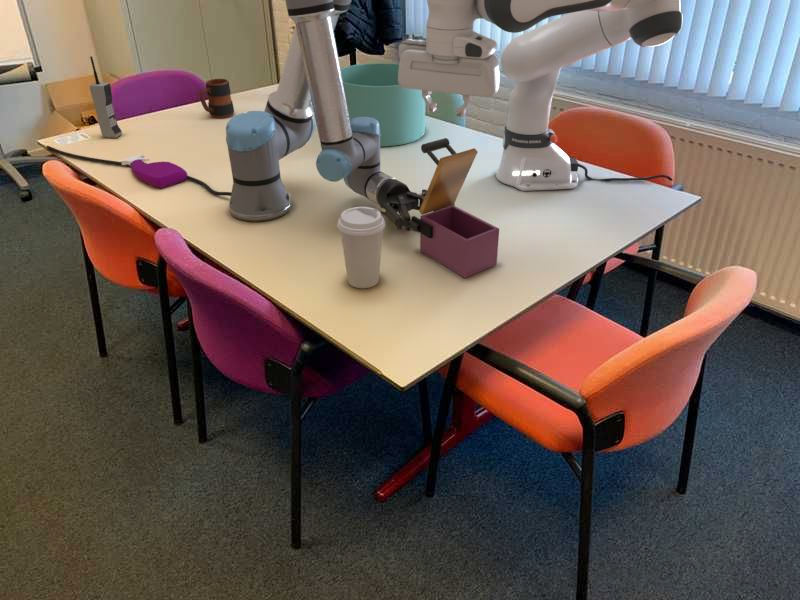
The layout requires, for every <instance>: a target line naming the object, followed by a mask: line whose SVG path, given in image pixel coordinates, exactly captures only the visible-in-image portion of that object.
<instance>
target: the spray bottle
mask: <svg viewBox="0 0 800 600" xmlns="http://www.w3.org/2000/svg"><path fill="white" fill-rule="evenodd" d="M145 161H149V163H147V162H145ZM120 162H121V163H122V165H127V164H128V165H130V169H131V172H132V173H133V175H134V176H135V177H136V178H137V179H139V180H141V181H142V182H143V183H145V184H148V185H150V186H153V187H156V188H160V189H163V188H166V187H169V186H173V185H176V184H178V183H182V182H184V181H186V180H187V179H186V178H187V176H188V172H187V171H186V170H185V169H184V168H183V167H181V166H180V165H177V164H175V163H174V162H170V161H154V162H150V158H146V157H145V154H144V153H142V154H136V155H133V156H129V157H127V158H124V159H121V160H120ZM122 165H121V166H122Z"/></svg>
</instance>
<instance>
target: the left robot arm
mask: <svg viewBox="0 0 800 600" xmlns="http://www.w3.org/2000/svg"><path fill="white" fill-rule="evenodd" d="M284 2H285V6H286V11H287V15H288V18H289V19H290V20H292V21H293V22H294V24H295V26H294V30H293V34H292V37H291V41H290V44H289V47H288V51H287V55H286V59H285V61H284V64H283V68H282V72H281V75H280V79H279V82H278V85H277V89H276V90H275V91H272V92H270V93H269V94H268V98H267V101H266V105H265V108H264V111H263V110H250V111H247V112H241V113H238V114H237V115H234V116H233V117H231V118H230V119H229V120H228V122H227V123H226V126H225V135H226V136H225V141H226V145H227V151H228V157H229V165H230V169H231V170H230V171H231V176H232V187H231V191H216V190H214V189H212V188H211V186H209V185H208V183H206V182H205V181H202V180H200V179H198V178H195V177H192V176H189V175H187V178H186V180H189V181H190V182H191V181H192V182H194V183H197V184H199V185H201V186H202V187H204V189H206V190H207V191H208V192H209V193H211V194H213V195H215V196H229V197H230V200H229V212H230V215H231V216H232V217H233V218H235V219H238V220H241V221H245V222H252V223H253V222H267V221H273V220H276V219H278V218H281V217H283V216H285V215H286V214H288V213H289V212H290V211H291V208H292V203H291V194H288V192H287V190H286V187H285V184H284V183H283V180H282V177H281V168H280V160H282V159H283V158H286V156H288V155H290V154H293V152H295V151H297V150H300V149H302V148H303V147H304V146H305V145H306V144H307V143H308V142H309V141H310V140H311V139H312V137H313V135H314V132H315V128H317V133H318V139H319V142H320V149H321V151H320V152H319V154H318V155H317V157H316V159H315V160H316V161H315V166H316V169H317V172H318V174H319V175H320V176H321V177H322V178H323V179H325V180H326V181H328V182H333V183H335V182H339V181H341V180H343V182H344V184H345V185H346V186H347V188H349V189H351V191H353V192H354V193H356V194H358V195H360V196H362V197H364V198H366V199H367V200H369V201H371V202H372V203H374V204H376V205H377V206H379V212H380V213H381V216H384V217H386V218H387V219H388V221H390V222H391V223H392V225H393V226H394V227H395V228H396V229H397V230H402V229H403V227H404V231H405V232H410V231H411V230H413V231H414V232H418V233H419V234H420V233H421V234H423V235H425V236H426V237H428V238H433V226H431V225H429V224H428V223H426V222H424V221H422V220H421V219H420V218H419V217H417V216H415V215H413V216H411V215H410V213H409V212H410V211H412V210H414V211H419V210H420V208H421V205H422V203H423V200H424V198H425V195H426V193H427V190H428V189H422V190H421V193H418V192H415V191H414V192H413V191H411V190H410V188H409V187H408V185H407V184H405V183H404V182H403V181H400V180H398V179H396V178H395V177H393V176H390V175H389V174H386V173H384V172H383V171H381V147H380V136H381V134H380V128H379V122H378V121H377V120H376V119H374V118H371V117H357V118H354V119H352V120H349V114H348V109H347V103H346V97H345V92H344V86H343V81H342V75H341V70H340V69H341V65H340V59H339V52H338V47H337V42H336V37H335V32H334V31H335V29H336V26H337V23H338V20H339V17H340V15H341V14H343V13H345V12H348V11H349V8H350V6H351V3H352V0H284ZM313 117H314V118H313ZM315 125H316V126H315ZM45 148H46V149H47V150H50V151H52V152H54V153H57V154H60V155H63V156H66V157H70V158H75V159H78V160H79V159H80V160H82V161H83V160H84V161H90V162H95V163H102V164H108V165H109V164H110V165H116V166H122V167H123V166H124V167H130V165H128V164H127V165H122V163H121V161H117V160H109V159H103V158H102V159H101V158H95V157H90V156H84V155H79V154H75V153H70V152H66V151H63V150H60V149H58V148H55V147H53V146H51V145H46V147H45ZM130 168H131V167H130ZM455 205H456V202H455V203H454V204H453V206H455ZM450 206H451V205H450ZM447 207H448V206H447ZM455 207H456V206H455ZM444 208H445V207H444ZM441 209H442V208H441ZM438 210H439V209H438ZM435 211H436V210H435Z"/></svg>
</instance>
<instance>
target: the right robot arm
mask: <svg viewBox="0 0 800 600" xmlns="http://www.w3.org/2000/svg"><path fill="white" fill-rule="evenodd" d="M426 2H427V7H428V16H427V19H426V24H425V28H426V30H425V31H426V32H425V39H413V38H406V39H405V40H403V41H401V42H400V43H399V45H398V58H399V63H398V64H399V70H398V84H399V85H400V87H401V88H407V89H415V90H422V97H423V99H424V101H425V105H426V113H427V114H436V113H437V102H433V99H432V97H431V94H433V93H443V94H450V95H459V96H462V101H464V102H463V105H458V107H456V117H457V118H465V117H466V116H467V107H468V106H469V104H470V103H471V101H472V100H473V98H474V97H477V98H478V97H479V98H486V99H492V98H493V97H494V96H495V95H496V94H497V93H498V92H499V89H500V81H501V79H500V78H501V77H500V67H501V70H502V72H503V74H504V76H505V77H507V79H508V80H510V81H513V82H514V86H513V88H512V91H511V93H510V95H509V98H508V103H507V104H508V106H507V114H506V115H507V117H506V125H505V127H504V131H503V135H502V136H503V137H502V148H503V149H502V151H503V152H502V154H501V159H500V162H499V167H498V169H497V172H496V175H495V177H496V180H498V181H499V182H501V183H502V184H504V185H507V186H511V187H515V189H517V190H519V191H522V192H529V191H530V192H531V191H550V190H551V191H552V190H572V189H576V188H577V186H578V184H579V178H578V175H577V172H578V169H579V168H581V169H583V170H584V177H585V178H586V179H587V180H588V181H598V182H599V181H600V182H611V181H612V182H613V181H617V182H629V181H633V182H634V181H648V180H653V179H658V178H664V179H667V180H669V181H671V182H673V181H674V179H673V178H672V177H671V176H669V175H667V174H656V175H652V176H645V177H609V178H599V179H598V178H594V177H593V178H592V177H590V176H589V175H588V173H589V172H588V168H587V167H586V166H585V165H583V164H580V163H579V162H578V159H577V158H576V157H569V155H568V154H567V153H566V152H565V151H564V150H563V149H561V148H560V147H559V146H558V145H557V143H558V141H559V138H558V135H557V134H555V131H554V130H553V129H552V127H551V128H549V122H550V114H551V110H552V109H551V108H552V101H553V96H554V93H555V90H556V86H557V83H558V80H559V76H560V72H561V69H563V68H565V67H568V66H570V65H572V64H574V63H576V62H578V61H579V62H580V61H581V60H584V59H586V58H588V57H591V56H594V55H596V54H599V53H601V52H603V51H605V50H608V49H611V48H614V47H615V46H618V45H621V44H623V43H625V42H627V41H629V40H631V39H632V41H633V43H634V44H636V45H637V46H639V47H642V48H649V47H650V48H651V47H658V46H661V45H664V44H666V43H667V42H669V41H671V40H672V39H674V38H676V37H677V36H678V34H679V33H680V32H681V30H682V29H683V12H681V0H426ZM561 15H562V16H561ZM555 16H559V17H557V18H556V19H553V20H550V21H548V22H547V23H545V24H542V25H540V26H538V27H535V25H537V24H539V23H541V22H542V21H544V20H546V19H549V18H551V17H555ZM478 19H483V20H485V21H486V22H489V23H491V24H493V25H495V26H496V27H498V28H499V29H501V30H502V31H504V32H507V33H511V34H512V33H513V34H516V33H517V34H519V33H522V32H524V33H522V34H520V35H517V36H515V37H514V38H513V39H512V40H511V41H509V43H508V44H507V45H506V46H505V48H504V49H503V50H502V53H501V54H500V55H501V56H500V62H499V59H498V57H497V56H496V55H495V53H496V51H497V47H498V44H497V42H496V40H494V39H492V38H490V37H487V36H485V35H483V34H481V33H478V32H477V31H475V30H474V23H475V21H476V20H478ZM533 27H535V28H533ZM531 28H533V29H531ZM529 29H531V30H529ZM528 30H529V31H528ZM525 31H526V32H525Z"/></svg>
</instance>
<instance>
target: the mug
mask: <svg viewBox="0 0 800 600" xmlns="http://www.w3.org/2000/svg"><path fill="white" fill-rule="evenodd" d="M205 94H206V95H207V101H208V102H206V99H205ZM231 94H232V91H231V86H230V81H229V80H228V79H226V78H213V79H209V80H207V81H206V83H205V88H203V89H201V90H200V92H199V100H200V103H201V105H202V108H203V110H205V112H206V113H209V115H210V117H212V118H215V119H226V118H229V117H232V116H233V115H234V113H235V108H234V102H233V100H232V96H231Z"/></svg>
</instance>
